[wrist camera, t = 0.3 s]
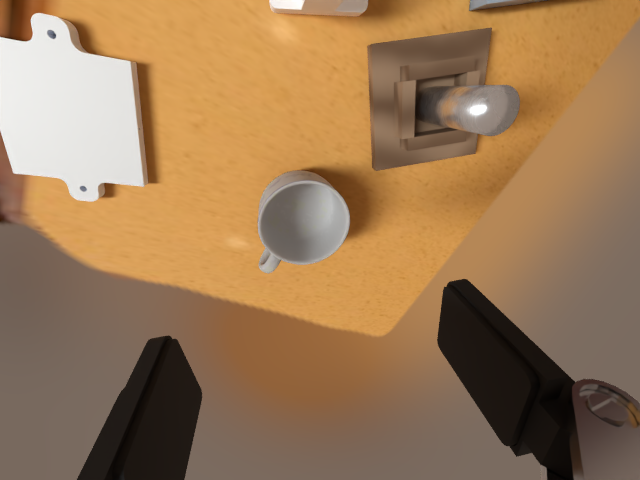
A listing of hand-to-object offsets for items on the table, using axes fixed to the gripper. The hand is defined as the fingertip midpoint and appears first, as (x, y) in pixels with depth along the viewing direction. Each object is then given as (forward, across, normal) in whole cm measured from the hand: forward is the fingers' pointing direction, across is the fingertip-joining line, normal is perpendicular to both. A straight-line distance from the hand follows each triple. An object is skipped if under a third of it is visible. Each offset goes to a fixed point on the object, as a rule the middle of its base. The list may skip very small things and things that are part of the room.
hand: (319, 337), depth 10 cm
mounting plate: (+31, +21, -8) cm, 38 cm away
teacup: (+31, 0, +7) cm, 32 cm away
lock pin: (+29, -19, -4) cm, 35 cm away
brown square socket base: (+30, -19, -4) cm, 36 cm away
